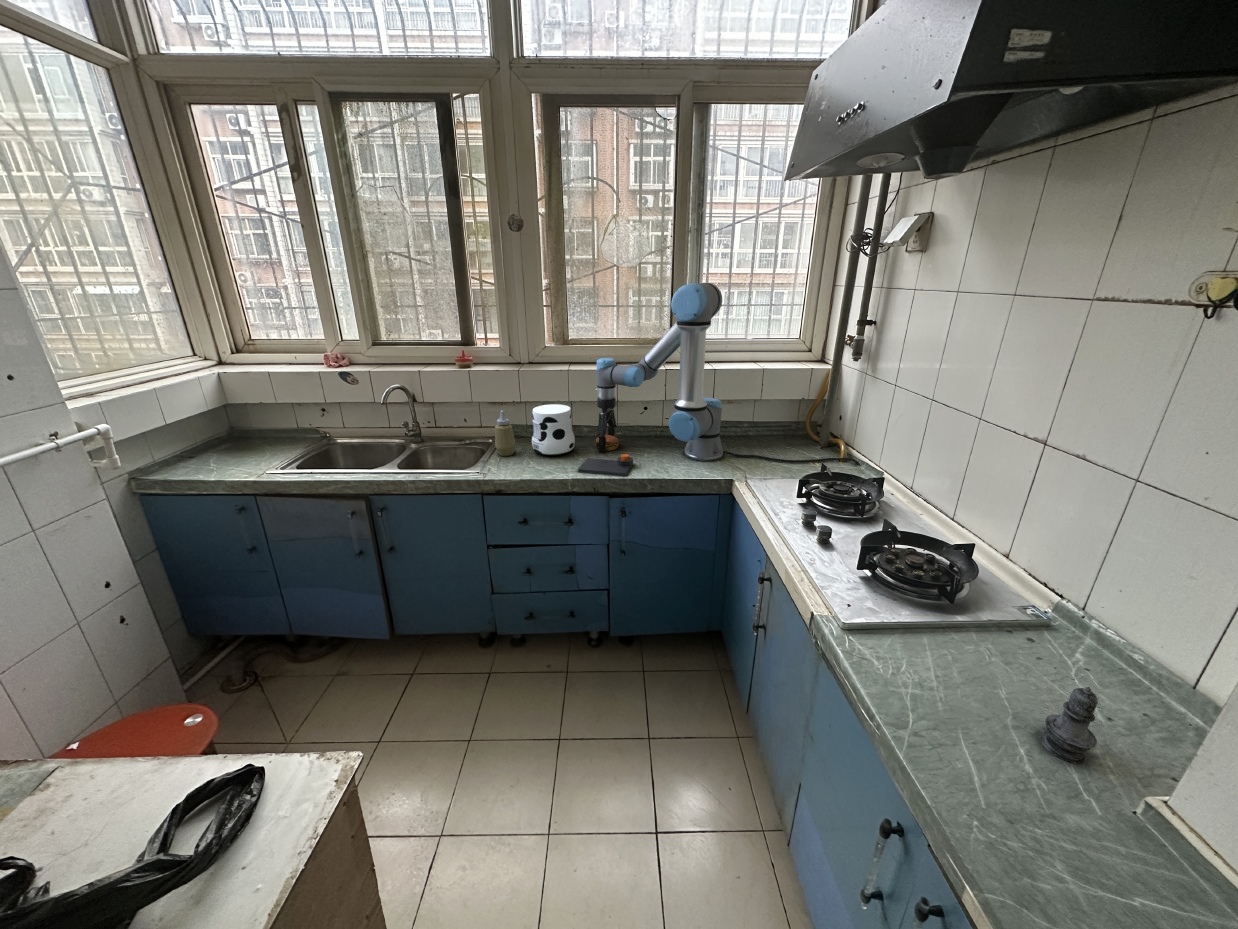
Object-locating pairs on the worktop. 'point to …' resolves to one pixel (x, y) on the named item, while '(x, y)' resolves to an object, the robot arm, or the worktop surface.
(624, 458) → the tare button
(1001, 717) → the worktop surface
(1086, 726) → the dark grey chess piece
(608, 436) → the burger
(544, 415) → the milk container
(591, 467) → the scale
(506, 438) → the squeeze bottle
